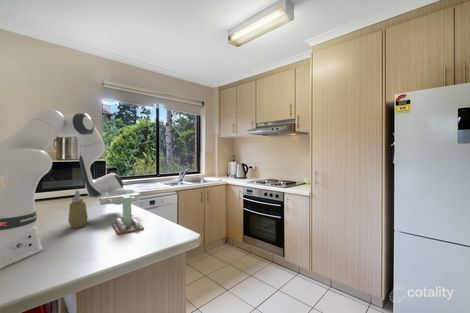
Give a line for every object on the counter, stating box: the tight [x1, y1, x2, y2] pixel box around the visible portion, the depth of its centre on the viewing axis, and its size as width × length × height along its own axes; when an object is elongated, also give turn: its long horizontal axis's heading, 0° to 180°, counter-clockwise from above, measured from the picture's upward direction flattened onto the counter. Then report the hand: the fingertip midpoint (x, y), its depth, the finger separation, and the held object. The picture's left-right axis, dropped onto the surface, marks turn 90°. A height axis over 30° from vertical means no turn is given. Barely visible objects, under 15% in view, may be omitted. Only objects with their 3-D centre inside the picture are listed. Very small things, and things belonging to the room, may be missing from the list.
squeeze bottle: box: [67, 190, 89, 229], centre depth 111 cm, size 8×8×18 cm
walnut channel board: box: [111, 214, 145, 236], centre depth 108 cm, size 18×11×4 cm, turn 36°
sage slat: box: [122, 196, 132, 227], centre depth 108 cm, size 5×3×14 cm, turn 36°
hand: (122, 200), depth 117 cm, fingers open, 8 cm apart
